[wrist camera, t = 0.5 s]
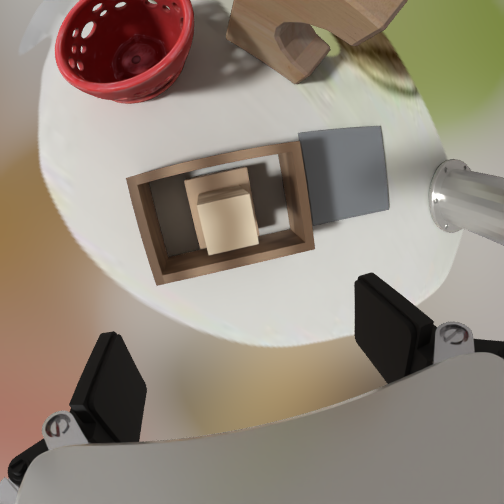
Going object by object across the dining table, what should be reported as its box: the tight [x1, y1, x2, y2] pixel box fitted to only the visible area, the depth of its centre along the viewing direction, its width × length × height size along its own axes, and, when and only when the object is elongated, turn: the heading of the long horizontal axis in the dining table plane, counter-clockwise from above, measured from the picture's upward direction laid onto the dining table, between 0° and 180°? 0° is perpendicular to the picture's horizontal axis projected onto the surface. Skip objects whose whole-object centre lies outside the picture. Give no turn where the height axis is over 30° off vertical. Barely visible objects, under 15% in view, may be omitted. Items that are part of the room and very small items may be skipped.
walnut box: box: [126, 141, 315, 285], centre depth 32 cm, size 18×12×6 cm, turn 101°
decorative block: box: [226, 0, 407, 84], centre depth 20 cm, size 11×6×20 cm, turn 54°
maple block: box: [197, 185, 259, 255], centre depth 29 cm, size 4×4×8 cm
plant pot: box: [55, 0, 194, 104], centre depth 22 cm, size 13×13×12 cm
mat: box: [298, 126, 389, 226], centre depth 36 cm, size 12×12×1 cm
